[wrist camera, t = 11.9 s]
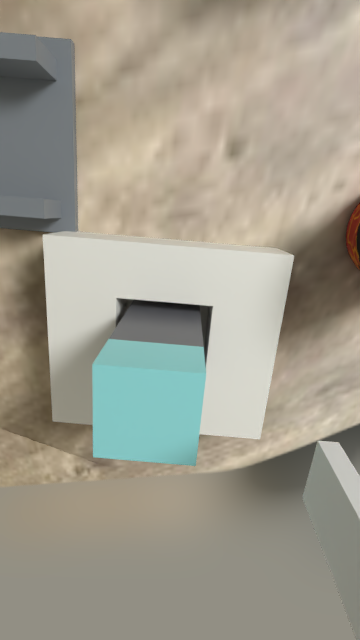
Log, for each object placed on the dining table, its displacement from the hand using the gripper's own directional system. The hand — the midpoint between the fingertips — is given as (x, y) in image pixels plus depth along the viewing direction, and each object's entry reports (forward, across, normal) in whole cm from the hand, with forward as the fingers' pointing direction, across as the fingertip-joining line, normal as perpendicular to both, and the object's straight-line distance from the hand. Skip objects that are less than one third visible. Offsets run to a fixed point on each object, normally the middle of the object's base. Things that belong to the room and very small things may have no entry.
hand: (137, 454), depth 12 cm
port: (+16, 0, -1) cm, 16 cm away
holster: (+16, -12, +12) cm, 24 cm away
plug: (+15, 0, -1) cm, 15 cm away
